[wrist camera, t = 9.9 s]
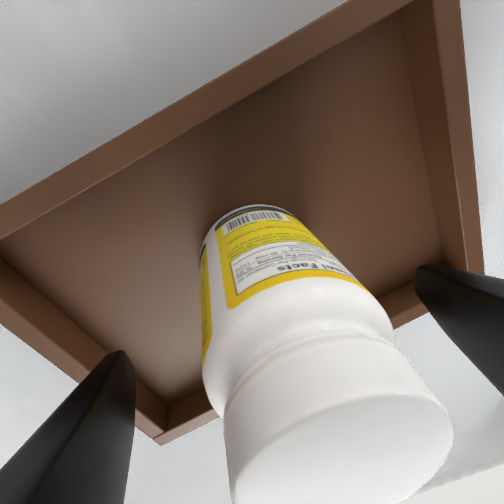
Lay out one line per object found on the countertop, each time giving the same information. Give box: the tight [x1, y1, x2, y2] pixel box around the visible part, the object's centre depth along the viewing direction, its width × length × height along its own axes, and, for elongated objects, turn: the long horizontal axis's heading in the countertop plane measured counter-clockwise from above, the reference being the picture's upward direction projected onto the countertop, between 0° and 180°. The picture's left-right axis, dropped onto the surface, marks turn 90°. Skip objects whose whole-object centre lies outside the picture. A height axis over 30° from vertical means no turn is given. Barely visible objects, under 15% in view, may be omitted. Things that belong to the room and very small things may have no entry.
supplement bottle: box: [199, 204, 455, 504], centre depth 9 cm, size 5×5×8 cm
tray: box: [0, 0, 485, 445], centre depth 12 cm, size 13×18×2 cm
